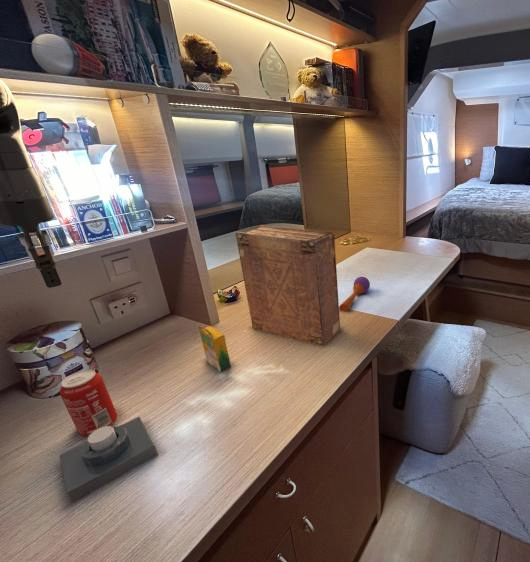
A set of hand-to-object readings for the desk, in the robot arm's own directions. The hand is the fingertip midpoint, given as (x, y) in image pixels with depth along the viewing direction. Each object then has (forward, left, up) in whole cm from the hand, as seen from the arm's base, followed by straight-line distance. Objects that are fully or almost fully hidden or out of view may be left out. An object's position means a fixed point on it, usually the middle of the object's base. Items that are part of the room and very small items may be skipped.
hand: (54, 285), depth 67 cm
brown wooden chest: (+46, -10, -27) cm, 54 cm away
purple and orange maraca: (+72, -8, -27) cm, 77 cm away
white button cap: (-2, -24, -22) cm, 33 cm away
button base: (-2, -24, -27) cm, 36 cm away
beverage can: (-2, -12, -27) cm, 30 cm away
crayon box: (+23, -10, -27) cm, 37 cm away
